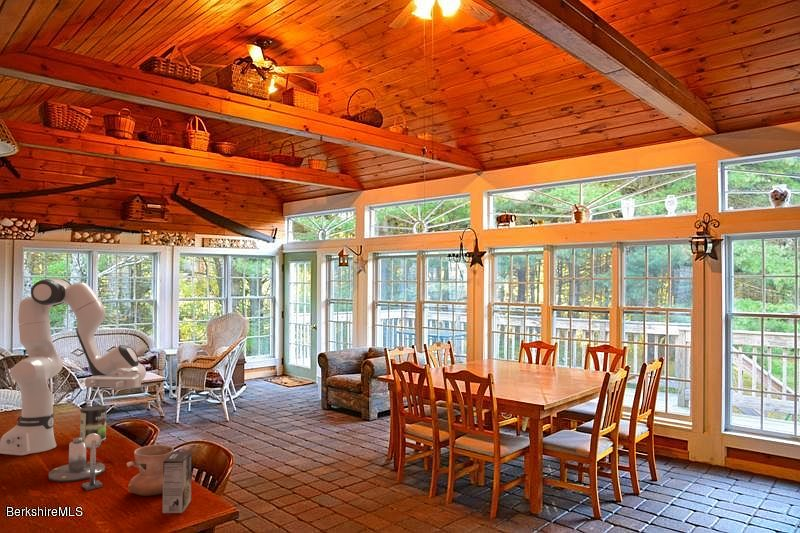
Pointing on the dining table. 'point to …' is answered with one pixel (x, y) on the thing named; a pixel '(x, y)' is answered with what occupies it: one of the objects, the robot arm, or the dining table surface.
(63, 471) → the disc
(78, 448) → the capped metal canister
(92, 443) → the metal joystick
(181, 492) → the coffee box
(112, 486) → the dining table surface
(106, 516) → the dining table surface
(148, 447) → the ceramic jug
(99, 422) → the coffee can
